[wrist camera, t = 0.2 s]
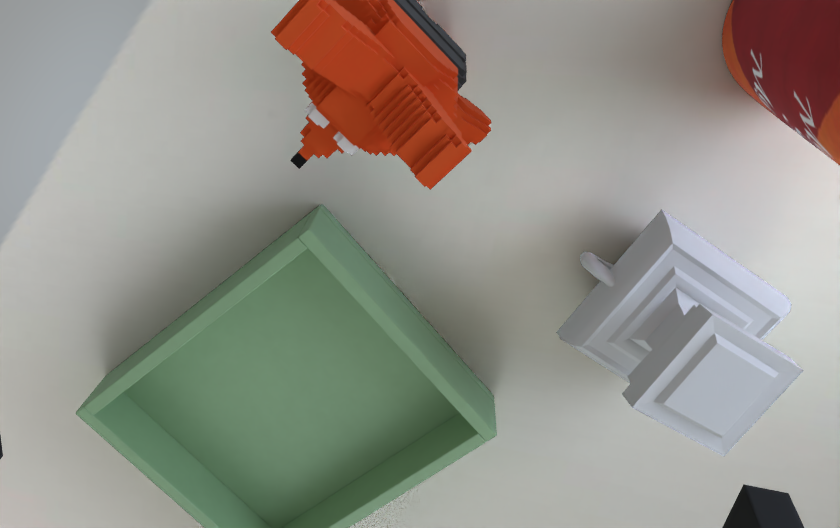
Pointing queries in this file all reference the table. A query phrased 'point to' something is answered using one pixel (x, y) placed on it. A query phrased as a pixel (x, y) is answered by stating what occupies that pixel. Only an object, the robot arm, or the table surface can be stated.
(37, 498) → the table surface
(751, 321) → the stamp
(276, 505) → the tray
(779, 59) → the paper cup
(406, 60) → the toy animal
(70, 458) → the table surface
